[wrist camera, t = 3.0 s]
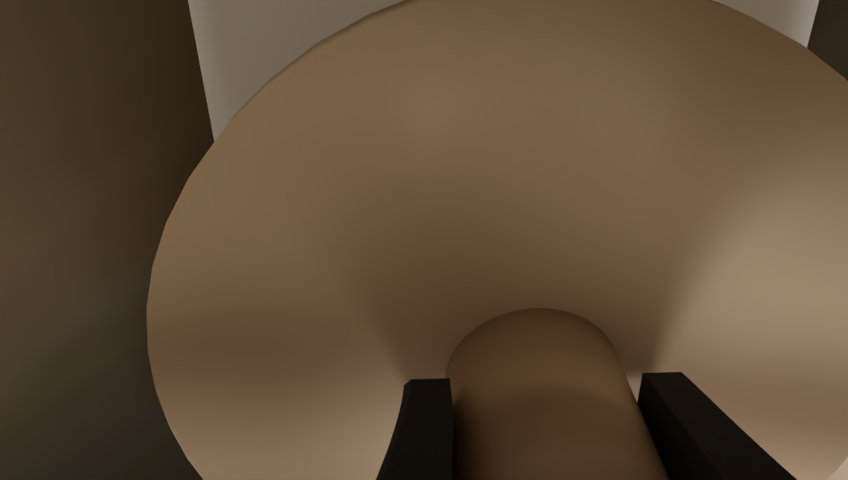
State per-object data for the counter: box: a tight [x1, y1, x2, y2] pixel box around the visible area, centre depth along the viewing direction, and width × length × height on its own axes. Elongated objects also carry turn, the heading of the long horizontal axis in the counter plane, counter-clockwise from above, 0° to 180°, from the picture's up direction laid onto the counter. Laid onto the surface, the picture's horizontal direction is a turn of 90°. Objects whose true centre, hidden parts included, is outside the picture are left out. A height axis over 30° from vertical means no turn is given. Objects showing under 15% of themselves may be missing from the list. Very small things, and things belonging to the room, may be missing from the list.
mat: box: [188, 0, 819, 142], centre depth 16 cm, size 13×13×1 cm
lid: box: [146, 0, 848, 480], centre depth 10 cm, size 13×13×5 cm
